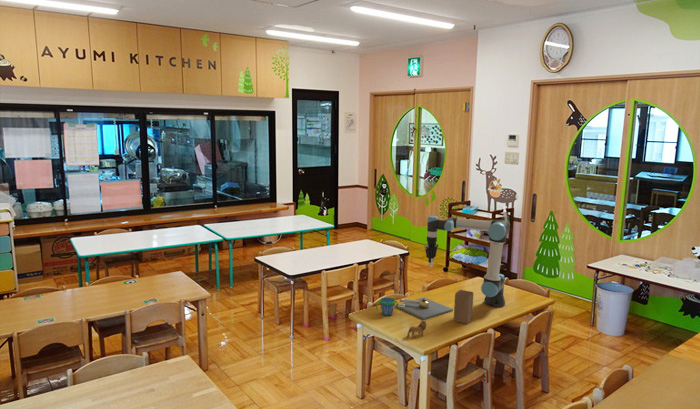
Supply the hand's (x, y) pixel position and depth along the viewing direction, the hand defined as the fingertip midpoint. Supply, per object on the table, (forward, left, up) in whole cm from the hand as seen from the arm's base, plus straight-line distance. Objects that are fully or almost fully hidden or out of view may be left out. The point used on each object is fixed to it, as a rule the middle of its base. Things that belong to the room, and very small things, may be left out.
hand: (430, 266), depth 375 cm
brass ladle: (-10, +26, -23) cm, 36 cm away
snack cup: (-8, +50, -25) cm, 56 cm away
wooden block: (-46, +15, -25) cm, 54 cm away
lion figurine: (-45, +58, -25) cm, 77 cm away
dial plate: (-16, +22, -24) cm, 36 cm away
